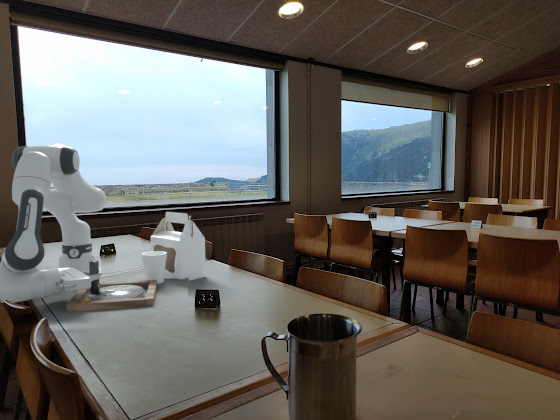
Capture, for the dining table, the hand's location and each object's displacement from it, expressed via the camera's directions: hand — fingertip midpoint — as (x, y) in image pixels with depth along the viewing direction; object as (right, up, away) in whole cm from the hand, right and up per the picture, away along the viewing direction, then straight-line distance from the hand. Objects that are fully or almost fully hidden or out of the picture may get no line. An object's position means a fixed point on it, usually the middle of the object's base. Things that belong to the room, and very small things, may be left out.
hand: (97, 275), depth 143 cm
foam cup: (+13, -8, +23) cm, 28 cm away
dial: (+6, -8, +1) cm, 10 cm away
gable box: (+19, -7, +39) cm, 43 cm away
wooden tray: (+6, -9, +2) cm, 11 cm away
